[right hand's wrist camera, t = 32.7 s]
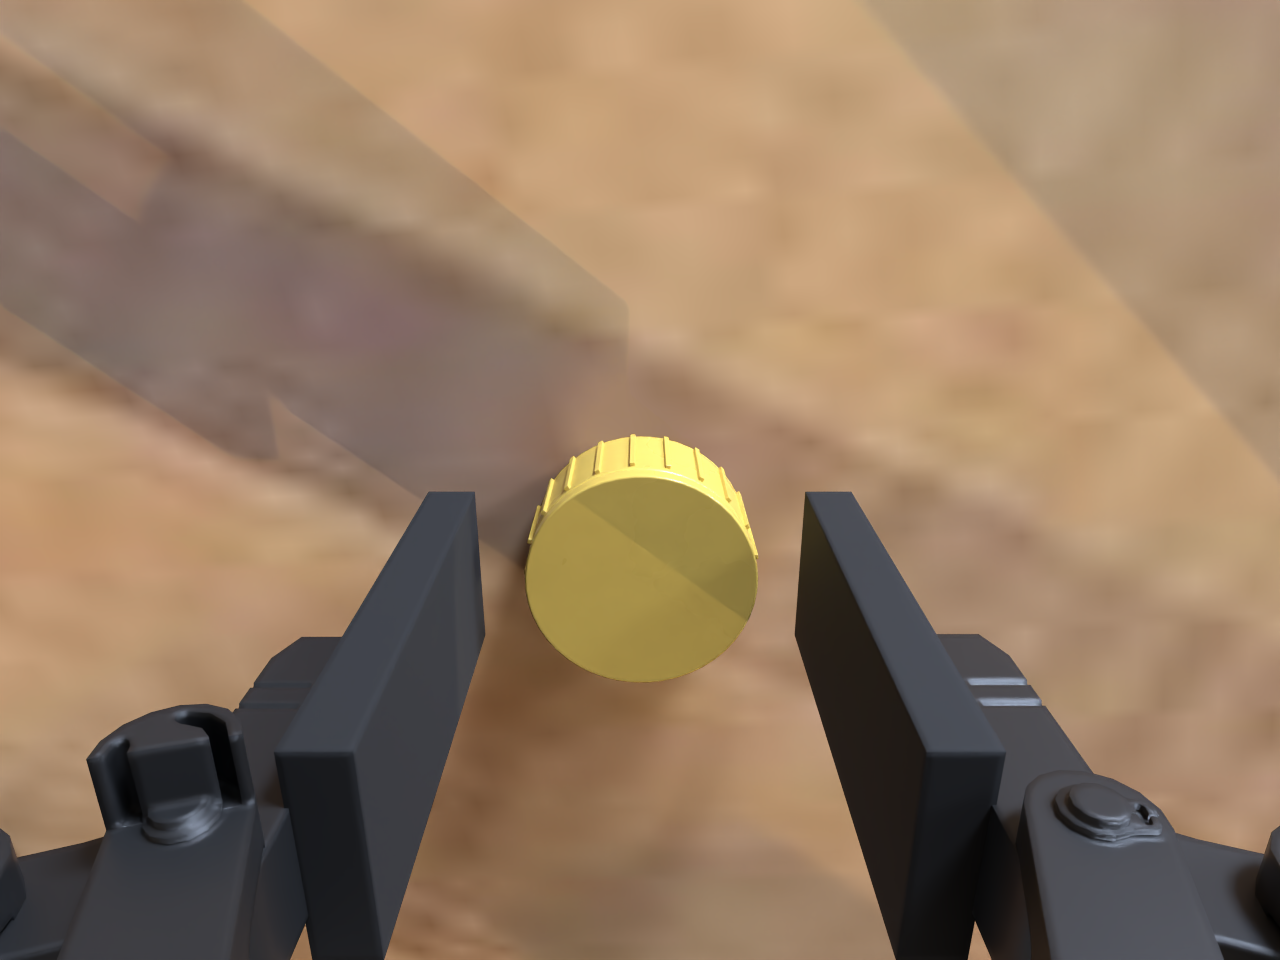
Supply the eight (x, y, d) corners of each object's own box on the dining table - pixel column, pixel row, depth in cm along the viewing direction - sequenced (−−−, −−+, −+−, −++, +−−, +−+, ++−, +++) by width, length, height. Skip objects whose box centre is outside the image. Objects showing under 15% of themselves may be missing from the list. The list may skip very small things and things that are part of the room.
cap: (494, 558, 16) (475, 612, 14) (611, 389, 15) (607, 424, 13) (666, 659, 17) (670, 723, 15) (790, 507, 16) (810, 555, 14)
